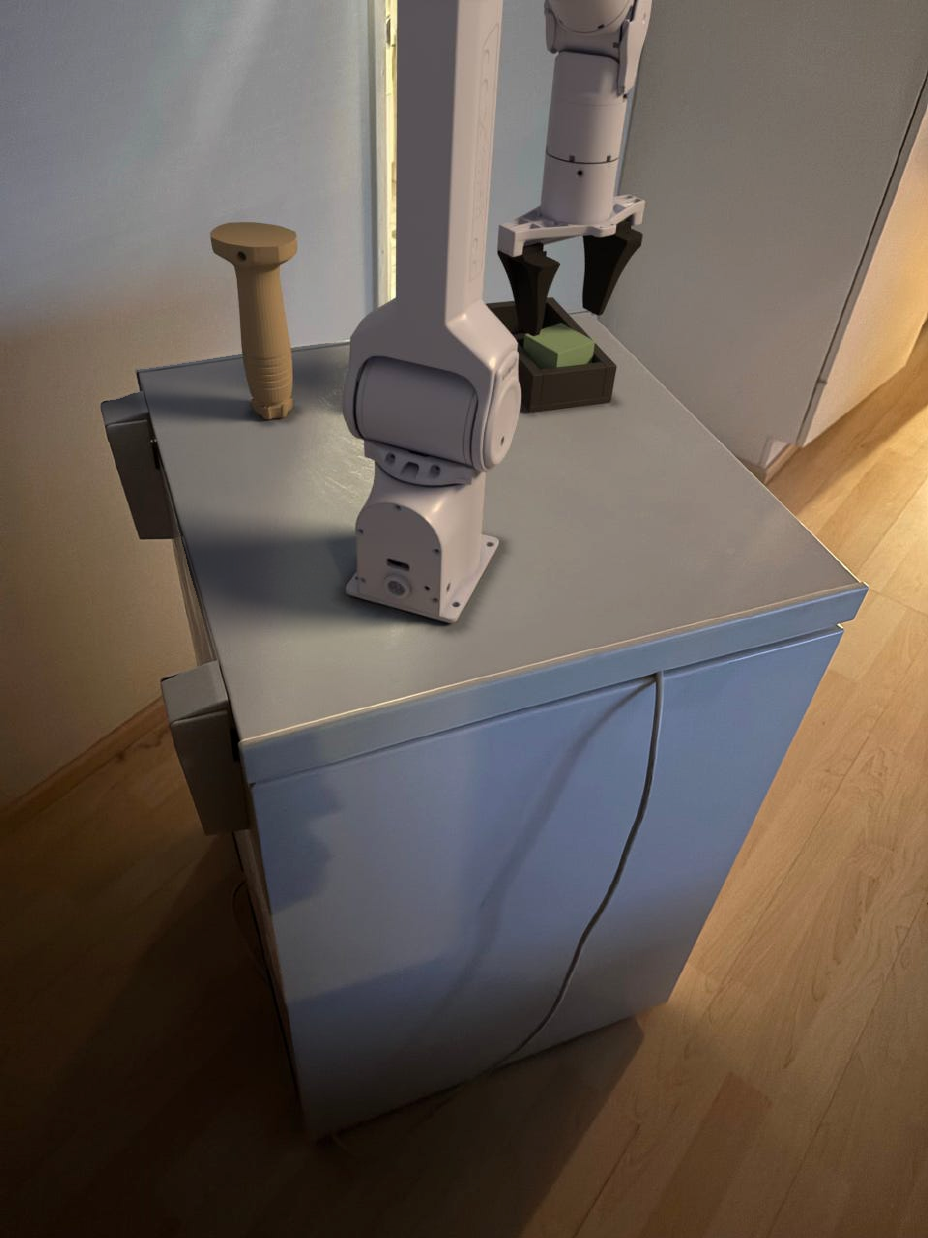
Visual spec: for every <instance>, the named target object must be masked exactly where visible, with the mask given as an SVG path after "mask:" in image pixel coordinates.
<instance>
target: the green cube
mask: <svg viewBox="0 0 928 1238" xmlns="http://www.w3.org/2000/svg"><path fill="white" fill-rule="evenodd" d="M590 338H591V337H590ZM590 338H588V337H586V336H584V335H582V334H580V333H579V332H577V331H575V330H573V329H571V328H569V327H568V326H566V325H564V324H562V323H560V324H556V325H553V326H550V327H547V328H544V329H541V332H540V334H539V335H537V336H531V335H529V334H525V335H524V345H523V350H524V351H525V352H526V354H527V355H528V356H529V357H530V359H531V360H532V361H533V362H534V364H535V365H536V366H537V367H538V369H539V370H540V369H547V368H556V367H564V366H573V365H581V364H590V363H592V358H593V351H594V345H595V343H596V341H595V340H593V339H592V338H591V339H592V340H591V339H590Z"/></svg>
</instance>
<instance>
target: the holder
mask: <svg viewBox="0 0 928 1238" xmlns="http://www.w3.org/2000/svg"><path fill="white" fill-rule="evenodd" d="M485 304H486V306H487V307H488V308H489V309H490V311H491V312H492V313H493V314H494V315H495V316H496V317H497V318H498V319H499V320H500V322H501V323H502V324H503V325H504V326H505V327H506V328H507V329H508V331H509V332H510V333H511V334H512V335H513V337H514V338H515V339H516V341H517V343H518V347H517V352H518V353H519V363H518V378H519V383H520V387H521V405H523V406H524V408H525V409H526V411H527V412H528V413H530V414H531V413H538V412H545V411H546V412H547V411H552V410H561V409H569V408H577V407H584V406H592V405H599V404H607V403H611V401H612V396H613V390H614V385H615V380H616V379H615V378H616V374H617V368H618V366H617V364H616V363H615V362H614V361H613V360H612V359H611V358H610V357H609V356H608V355H607V353H606V352H605V351H604V350H603V349H602V348H601V347H600V346H599V345H598V344H597V343H596V342H595V345H594V351H593V358H592V363H590V364H581V365H573V366H564V367H556V368H547V369H540V370H539V369H538V367H537V366H536V365H535V364H534V362H533V361H532V360H531V359H530V357H529V356H528V355H527V354H526V352H525V351H524V350H523V345H524V335H525V334H528V333H526V332H524V331H522V330H521V329H519V326H518V319H517V312H516V306H515V301H514V300H508V301H497V302H496V301H495V302H487V303H485ZM560 323H562V324H564V325H566V326H568V327H569V328H571V329H573V330H575V331H577V332H579V333H580V334H582V335H584V336H586V337H588V338H590V339H591V340H593V338H591V336H590V335H588V333H587V332H586V331H585V330H584V329H583V328H582V327H581V326H580V324H579V323H577V321H575V319H574V318H573V317H572V316H571V315H570V314H569V313H568V312H567V310H566V309H564V308H563V306H561V304H560V303H559V302H558V301H557V300H556V299H555V298H554V297H553V296H551V297H549V296H548V297H547V301H546V307H545V314H544V320H543V325H542V329H544V328H547V327H550V326H553V325H556V324H560Z"/></svg>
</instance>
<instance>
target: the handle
mask: <svg viewBox="0 0 928 1238" xmlns="http://www.w3.org/2000/svg"><path fill="white" fill-rule="evenodd" d="M209 236H210V244H211V250H212V252H213V254H215V255H216V256H217V257H220V258H222V259H223V260H225V261H227V262H228V263H230V264H231V265H232V266H233V269H234V273H235V278H236V279H235V280H236V290H237V301H238V302H237V303H238V315H239V331H240V332H239V333H240V345H241V347H240V348H241V355H242V364H243V369H244V373H245V378H246V382H247V386H248V390H249V393H250V395H251V397H252V398H251V404H252V408H253V411H254V413H255V414H258V415H260V416H261V417H262V419H264V420H272V419H278V418H279V419H280V418H281V419H284V418H286V417H287V416H288V413H289V412H291V411H292V409H293V396H292V390H293V357H292V348H291V340H290V333H289V328H288V321H287V315H286V310H285V303H284V297H283V289H282V282H281V281H282V280H281V266H282V265H283V264H286V263H287V262H289V261H290V260H292V259H293V258H294V257H295V255H296V254H297V252H298V238H297V233H296V231H294V230H292V229H290V228H287V227H284V226H280V225H277V224H272V223H271V224H270V223H263V222H256V221H239V222H237V221H235V222H225V223H222V224H220V225H218V226H216V227H214V228H213V229H212V230H211V231H210V233H209Z"/></svg>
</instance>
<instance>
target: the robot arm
mask: <svg viewBox="0 0 928 1238" xmlns="http://www.w3.org/2000/svg"><path fill="white" fill-rule="evenodd" d="M652 3H653V0H544V3H543V8H544V11H543V14H544V17H545V43H546V49H547V51H548V52H549V53H550V54H551V55H555V54H557V53H558V54H557V55H556V56H555V57H554V61H553V69H552V70H553V71H552V83H551V90H550V91H551V93H550V100H549V101H550V103H549V111H548V112H549V113H548V124H547V134H546V144H545V154H544V164H543V175H542V185H541V194H540V195H541V196H540V205H538V206H537V207H534V208H533V209H531V210H528V211H527V212H525V213H524V214H522V215H520V216H518V217H516V218H515V219H513V220H511V221H507V222H504V223H500V224H499V225H498V231H497V244H496V245H497V246H496V249H497V251H496V254H497V256H498V259H499V261H500V262H501V264H502V267H503V269H504V271H505V273H506V276H507V279H508V282H509V285H510V288H511V293H512V296H513V301H515V306H516V312H517V319H518V326H519V329H521V330H522V331H524V332H526V333H528V334H529V335H531V336H537V335H539V334H540V332H541V329H542V325H543V320H544V314H545V307H546V301H547V298H548V297H549V292H550V289H551V287H552V284H553V281H554V279H555V277H556V273H557V272H558V270H559V268H560V266H561V263H560V262H559V261H557V260H556V259H553V258H551V257H549V256H547V255H548V251H547V250H545V249H544V248H545V246H547V245H551V244H553V243H559V242H561V241H566V240H570V239H574V238H578V237H582V245H583V257H584V267H583V281H582V292H581V303H582V305H581V306H582V309H583V310H586V311H588V312H590V313H592V314H593V315H595V316H597V317H599V316H602V315H604V313H605V311H606V308H607V307H608V303H609V300H610V299H611V296H612V294H613V292H614V289H615V287H616V285H617V283H618V281H619V278H620V277H621V275H622V273H623V272H624V270H625V268H626V266H627V265H628V263H629V262H630V260H631V259H632V257H633V256H634V255H635V254H636V252H637V251H638V250H639V249H640V248H641V247H642V243H643V236H644V235H643V233H642V232H641V231H638V230H636V229H634V228H632V227H635V226H640V225H642V222H643V216H644V211H645V205H646V200H644V199H642V198H639V197H637V196H634V195H632V194H629V193H628V194H622V195H617V196H614V192H615V185H616V179H617V172H618V165H619V158H620V152H621V145H622V138H623V132H624V125H625V118H626V113H627V105H628V97H629V91H630V90H631V89H632V88H633V87H634V86H635V82H636V78H637V75H638V67H639V62H640V57H641V52H642V50H643V46H644V42H645V39H646V36H647V32H648V28H649V24H650V19H651V11H652V5H653V4H652ZM503 7H504V0H396V148H395V149H396V151H395V152H396V156H395V157H396V162H395V163H396V165H395V166H396V169H395V173H396V174H395V175H396V176H395V183H396V184H395V185H396V186H395V187H396V189H395V201H396V202H395V297H393V298H392V299H390V300H389V301H387V302H385V303H384V304H382V305H381V306H379V307H377V308H375V309H373V310H372V311H370V312H369V313H368V314H366V316H365V317H363V318H362V319H361V321H359V322H358V324H357V326H356V327H355V329H354V330H353V332H352V333H351V335H350V336H349V349H348V350H349V351H348V364H347V371H346V374H345V376H344V380H343V381H344V382H343V386H342V392H341V407H342V408H341V409H342V414H343V419H344V421H345V424H346V427H347V429H348V431H349V433H350V434H351V436H352V437H354V438H355V439H357V440H361V441H363V450H364V451H363V454H364V457H365V458H368V459H370V460H372V461H374V477H373V484H372V487H371V490H370V493H369V496H368V497H367V500H366V501H365V503H364V505H363V506H362V508H361V509H360V511H359V512H358V514H357V517H356V519H355V525H354V526H355V527H354V535H355V536H354V537H355V554H356V555H355V557H356V571H355V572H354V574H353V575H352V577H351V579H350V580H349V581H348V582H347V584H346V586H345V592H346V594H347V595H348V596H351V597H355V598H359V599H361V600H366V601H370V602H372V603H376V604H380V605H383V606H387V607H390V608H395V609H398V610H401V611H405V612H409V613H412V614H416V615H420V616H423V617H426V618H430V619H434V620H437V621H440V622H443V623H448V624H454V623H456V622H457V621H458V620H459V618H460V617H461V615H462V613H463V612H464V609H465V607H466V605H467V603H468V602H469V600H470V597H471V596H472V594H473V592H474V591H475V589H476V586H477V585H478V584H479V581H480V579H481V578H482V576H483V574H484V572H485V570H487V567H488V565H489V563H490V561H492V558H493V556H494V554H495V553H496V551H497V549H498V547H499V541H500V540H499V539H498V538H497V537H495V536H491V535H488V534H484V533H483V524H484V523H483V522H484V509H485V508H484V507H485V493H486V479H487V473H489V472H491V471H492V470H493V469H494V468H495V467H497V466H498V465H500V464H501V463H502V462H503V461H504V459H505V457H506V456H507V453H508V452H509V450H510V447H511V445H512V442H513V439H514V436H515V433H516V430H517V426H518V422H519V418H520V417H519V416H520V412H521V411H520V410H521V405H522V402H521V387H520V383H519V378H518V363H519V353H518V352H517V347H518V343H517V341H516V339H515V338H514V337H513V335H512V334H511V333H510V332H509V331H508V329H507V328H506V327H505V326H504V325H503V324H502V323H501V322H500V320H499V319H498V318H497V317H496V316H495V315H494V314H493V313H492V312H491V311H490V309H489V308H488V307H487V306H486V304H487V303H485V301H484V299H483V295H484V282H485V281H484V279H485V269H486V267H485V265H486V254H487V253H486V252H487V251H486V250H487V238H488V223H489V208H490V197H491V196H490V194H491V181H492V180H491V179H492V167H493V152H494V138H495V137H494V136H495V124H496V122H495V121H496V107H497V93H498V82H499V81H498V79H499V64H500V53H501V52H500V49H501V38H502V37H501V35H502V21H503Z"/></svg>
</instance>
